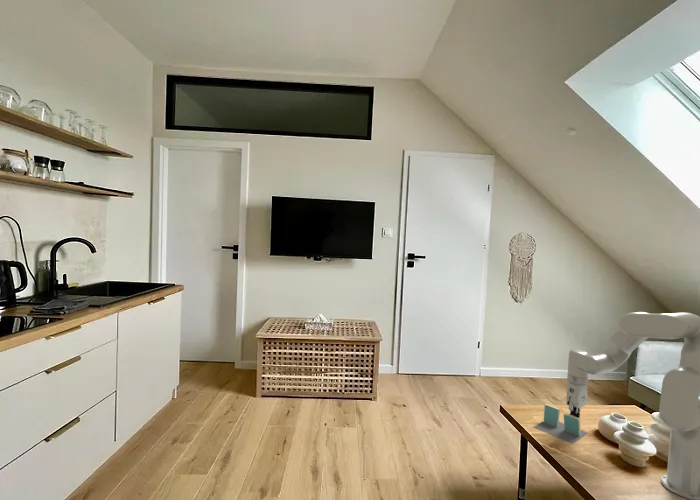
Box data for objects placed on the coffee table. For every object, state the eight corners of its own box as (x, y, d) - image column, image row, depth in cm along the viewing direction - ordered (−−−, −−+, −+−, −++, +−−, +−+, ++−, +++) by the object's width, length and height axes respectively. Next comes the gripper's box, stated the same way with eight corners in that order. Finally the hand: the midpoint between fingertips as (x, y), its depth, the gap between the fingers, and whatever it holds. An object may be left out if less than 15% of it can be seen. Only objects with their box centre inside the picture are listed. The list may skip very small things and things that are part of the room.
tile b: (558, 426, 167) (559, 408, 166) (557, 427, 166) (558, 409, 166) (544, 420, 171) (545, 403, 171) (543, 421, 171) (544, 404, 170)
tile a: (580, 434, 159) (579, 418, 158) (579, 436, 159) (578, 419, 157) (565, 428, 164) (564, 412, 163) (564, 430, 163) (563, 414, 162)
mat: (588, 434, 162) (588, 433, 162) (572, 445, 152) (572, 443, 152) (550, 419, 175) (550, 418, 175) (533, 428, 165) (533, 427, 165)
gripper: (579, 385, 154) (576, 429, 155) (594, 378, 163) (591, 420, 163) (560, 379, 160) (557, 421, 161) (575, 373, 169) (572, 413, 170)
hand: (574, 420), depth 162 cm, fingers closed
